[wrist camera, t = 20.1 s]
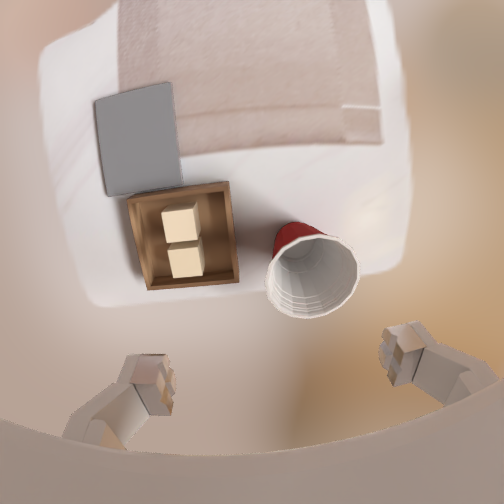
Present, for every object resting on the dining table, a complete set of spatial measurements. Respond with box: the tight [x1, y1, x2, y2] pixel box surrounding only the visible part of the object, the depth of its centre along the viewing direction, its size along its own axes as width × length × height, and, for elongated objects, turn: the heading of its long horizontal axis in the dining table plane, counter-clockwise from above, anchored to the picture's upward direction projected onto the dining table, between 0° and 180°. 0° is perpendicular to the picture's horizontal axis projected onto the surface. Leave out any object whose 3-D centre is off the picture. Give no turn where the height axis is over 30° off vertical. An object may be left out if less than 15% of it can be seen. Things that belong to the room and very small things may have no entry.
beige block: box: [167, 237, 205, 278], centre depth 39 cm, size 4×4×4 cm
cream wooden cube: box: [161, 201, 201, 243], centre depth 37 cm, size 4×4×4 cm
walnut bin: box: [127, 181, 239, 290], centre depth 39 cm, size 13×13×4 cm
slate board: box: [95, 82, 183, 197], centre depth 35 cm, size 14×11×1 cm
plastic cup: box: [264, 222, 360, 319], centre depth 36 cm, size 11×11×12 cm
